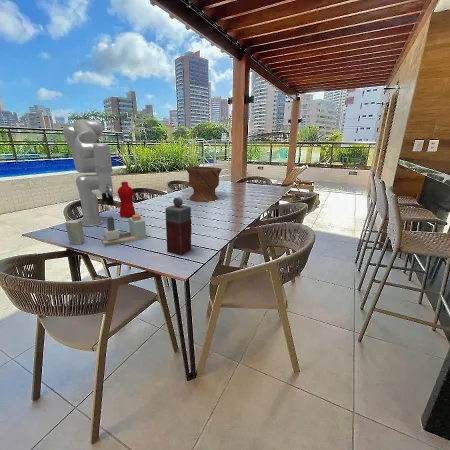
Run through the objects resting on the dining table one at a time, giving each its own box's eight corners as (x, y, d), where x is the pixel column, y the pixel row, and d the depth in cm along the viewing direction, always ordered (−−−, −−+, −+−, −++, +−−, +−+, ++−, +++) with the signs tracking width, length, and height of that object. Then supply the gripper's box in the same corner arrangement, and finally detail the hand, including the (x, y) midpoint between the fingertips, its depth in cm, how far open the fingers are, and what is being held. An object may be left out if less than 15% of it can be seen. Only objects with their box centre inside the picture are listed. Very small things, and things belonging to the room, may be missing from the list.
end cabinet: (129, 232, 146) (128, 217, 143) (139, 230, 149) (138, 216, 146) (135, 237, 138) (134, 222, 135) (146, 235, 142) (144, 220, 139)
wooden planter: (200, 204, 220) (200, 171, 211) (179, 197, 244) (178, 167, 235) (228, 199, 243) (229, 169, 233) (206, 193, 267) (206, 166, 257)
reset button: (132, 220, 142) (132, 215, 141) (138, 219, 144) (138, 214, 143) (134, 222, 139) (134, 217, 138) (140, 221, 141) (140, 216, 140)
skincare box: (85, 241, 135) (81, 220, 131) (81, 244, 131) (77, 222, 127) (73, 241, 135) (69, 219, 131) (68, 244, 131) (64, 222, 127)
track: (100, 240, 137) (99, 234, 136) (140, 232, 150) (139, 227, 149) (105, 246, 130) (104, 240, 128) (146, 238, 142) (145, 232, 141)
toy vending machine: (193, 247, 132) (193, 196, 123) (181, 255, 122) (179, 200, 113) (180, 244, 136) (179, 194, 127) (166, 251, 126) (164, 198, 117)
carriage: (104, 237, 136) (102, 216, 133) (116, 235, 140) (113, 215, 136) (108, 241, 131) (105, 220, 127) (119, 239, 135) (117, 218, 131)
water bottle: (132, 218, 176) (129, 183, 168) (118, 217, 178) (114, 182, 170) (139, 215, 184) (136, 181, 176) (125, 213, 186) (122, 180, 178)
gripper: (92, 168, 128) (96, 200, 133) (99, 171, 115) (104, 207, 120) (107, 167, 132) (111, 199, 138) (116, 171, 119) (120, 205, 125)
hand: (108, 203), depth 129 cm, fingers open, 9 cm apart
